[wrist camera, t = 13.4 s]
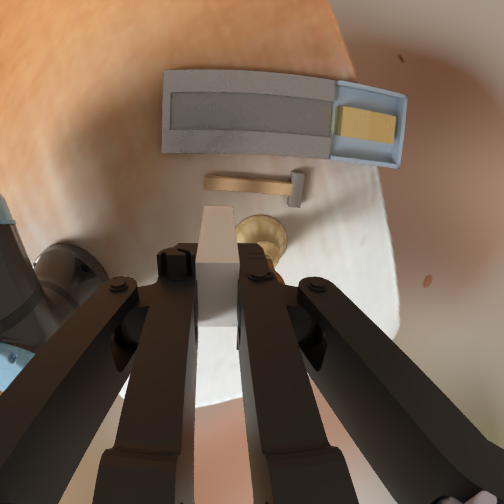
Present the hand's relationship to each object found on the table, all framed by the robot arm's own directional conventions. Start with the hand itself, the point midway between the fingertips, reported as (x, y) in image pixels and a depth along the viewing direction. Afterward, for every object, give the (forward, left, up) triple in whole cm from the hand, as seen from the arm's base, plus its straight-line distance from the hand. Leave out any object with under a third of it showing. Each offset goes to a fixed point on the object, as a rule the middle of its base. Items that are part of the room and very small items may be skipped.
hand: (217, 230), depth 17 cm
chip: (+21, +6, -26) cm, 34 cm away
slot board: (+3, +6, -26) cm, 27 cm away
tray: (+20, +6, -26) cm, 34 cm away
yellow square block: (+17, +6, -26) cm, 32 cm away
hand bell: (+6, -12, -27) cm, 30 cm away
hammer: (+4, -3, -27) cm, 27 cm away
